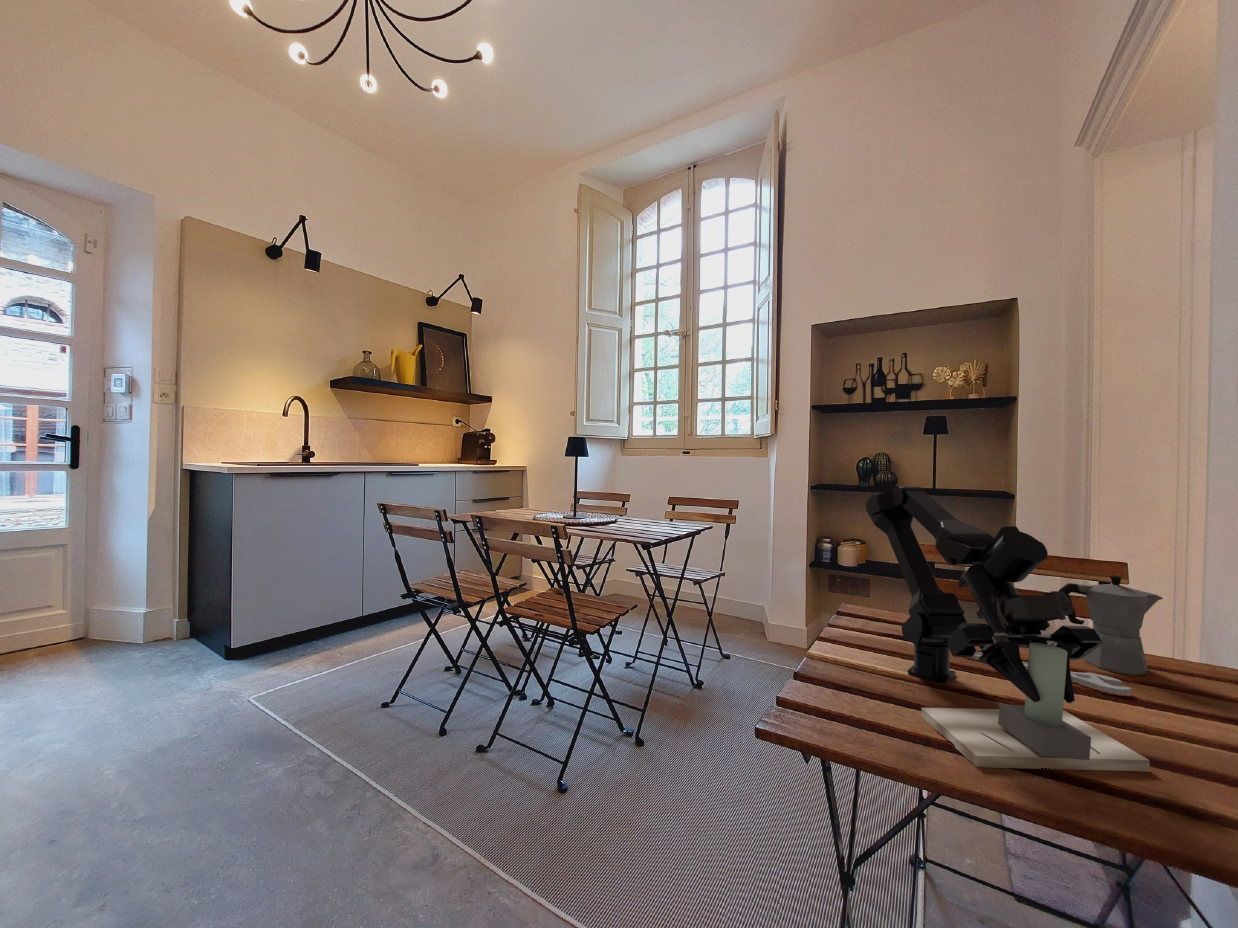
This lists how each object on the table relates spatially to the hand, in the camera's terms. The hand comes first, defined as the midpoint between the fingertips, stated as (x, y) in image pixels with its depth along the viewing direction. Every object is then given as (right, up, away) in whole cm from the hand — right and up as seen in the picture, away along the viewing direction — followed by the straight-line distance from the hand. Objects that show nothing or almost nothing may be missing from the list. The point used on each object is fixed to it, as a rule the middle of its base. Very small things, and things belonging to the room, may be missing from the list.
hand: (1054, 701), depth 68 cm
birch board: (0, -8, +5) cm, 9 cm away
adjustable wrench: (+22, -9, +29) cm, 38 cm away
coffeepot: (+39, -8, +33) cm, 52 cm away
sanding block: (0, -6, +2) cm, 6 cm away
